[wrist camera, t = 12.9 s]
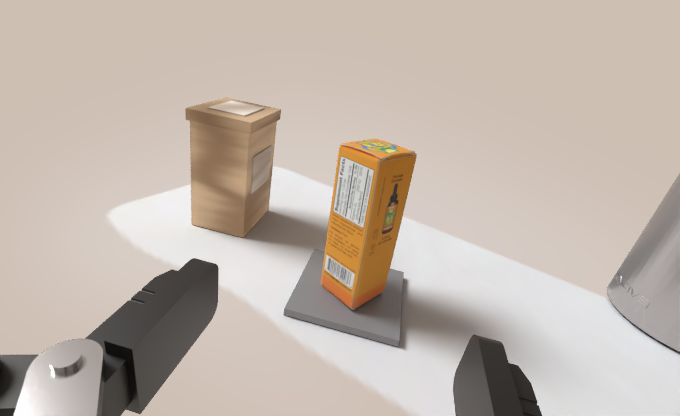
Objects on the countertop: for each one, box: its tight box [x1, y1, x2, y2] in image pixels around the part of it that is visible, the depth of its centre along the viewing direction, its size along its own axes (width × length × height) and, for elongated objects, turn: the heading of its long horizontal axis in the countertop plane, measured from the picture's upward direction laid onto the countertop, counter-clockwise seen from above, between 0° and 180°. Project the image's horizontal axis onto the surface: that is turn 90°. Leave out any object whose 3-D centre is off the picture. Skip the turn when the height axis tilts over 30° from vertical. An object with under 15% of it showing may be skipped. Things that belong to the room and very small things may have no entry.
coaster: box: [284, 250, 404, 347], centre depth 24 cm, size 7×7×1 cm
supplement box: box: [321, 139, 416, 310], centre depth 22 cm, size 3×3×10 cm
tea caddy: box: [186, 98, 281, 238], centre depth 29 cm, size 5×6×9 cm
